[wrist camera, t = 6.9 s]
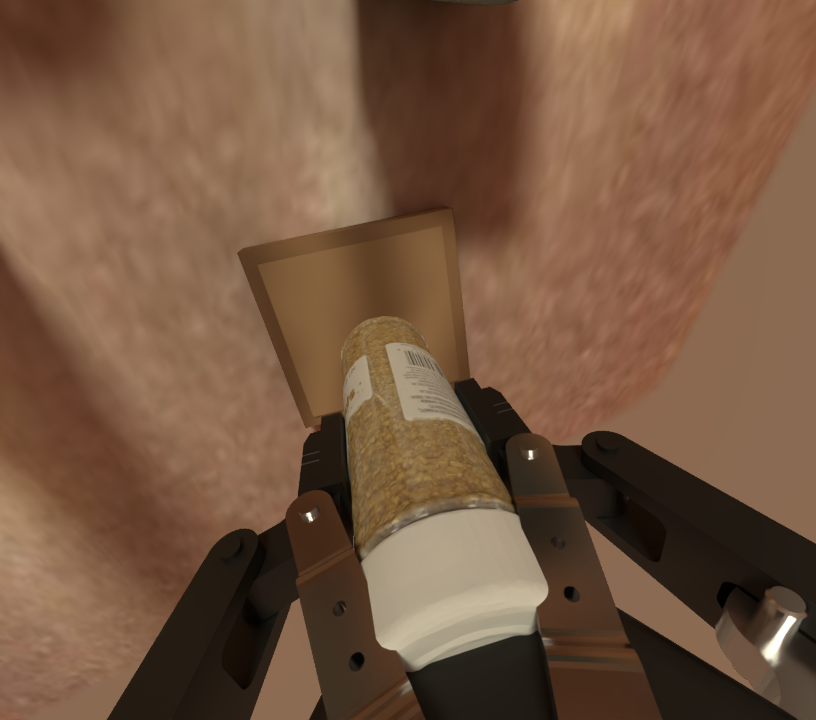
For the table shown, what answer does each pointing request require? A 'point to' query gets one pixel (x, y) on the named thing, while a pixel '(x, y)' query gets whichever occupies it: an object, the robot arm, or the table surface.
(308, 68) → the table surface
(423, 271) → the brown rectangular tray
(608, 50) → the table surface
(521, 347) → the table surface
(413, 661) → the sprinkles bottle
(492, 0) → the flower pot
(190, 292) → the table surface
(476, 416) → the robot arm
